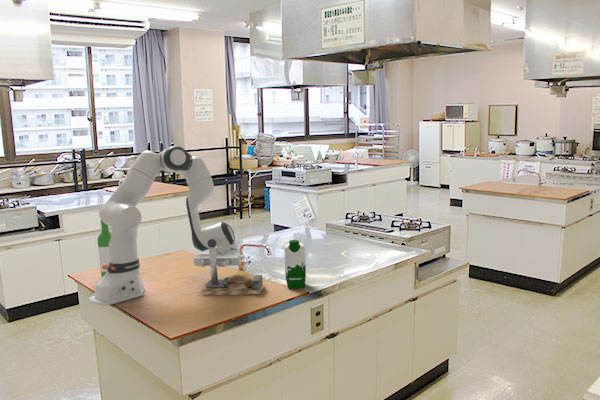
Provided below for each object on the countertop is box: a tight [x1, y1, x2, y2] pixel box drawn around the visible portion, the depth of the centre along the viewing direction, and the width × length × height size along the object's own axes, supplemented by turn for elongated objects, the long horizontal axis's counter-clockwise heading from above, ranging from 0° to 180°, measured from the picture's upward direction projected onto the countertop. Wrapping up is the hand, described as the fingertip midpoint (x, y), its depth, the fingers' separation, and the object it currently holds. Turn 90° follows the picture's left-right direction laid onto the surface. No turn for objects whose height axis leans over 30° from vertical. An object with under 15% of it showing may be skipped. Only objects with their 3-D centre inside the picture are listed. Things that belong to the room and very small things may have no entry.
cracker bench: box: [201, 274, 265, 296], centre depth 207 cm, size 24×10×6 cm, turn 84°
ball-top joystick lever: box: [205, 239, 231, 288], centre depth 206 cm, size 9×7×21 cm
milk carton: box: [283, 239, 307, 290], centre depth 208 cm, size 9×9×20 cm
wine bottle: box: [97, 219, 112, 279], centre depth 233 cm, size 8×8×30 cm
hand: (212, 264), depth 205 cm, fingers open, 7 cm apart
